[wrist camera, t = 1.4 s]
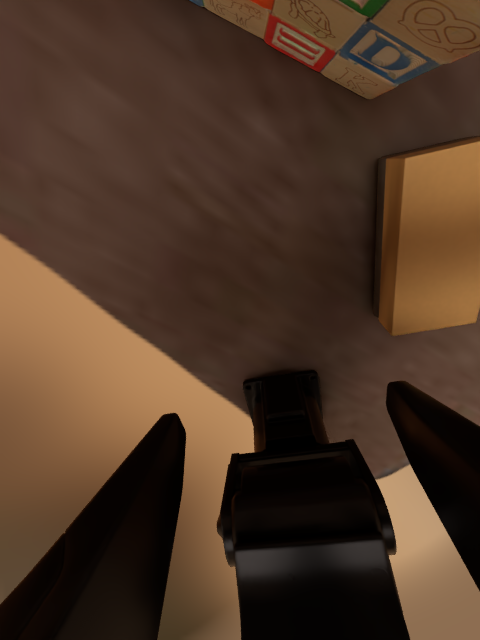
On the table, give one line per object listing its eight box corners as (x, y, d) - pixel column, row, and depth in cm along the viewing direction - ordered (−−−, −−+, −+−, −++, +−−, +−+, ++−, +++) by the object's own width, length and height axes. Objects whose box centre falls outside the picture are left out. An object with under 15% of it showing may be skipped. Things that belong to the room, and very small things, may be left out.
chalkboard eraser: (441, 298, 20) (476, 322, 17) (369, 310, 21) (391, 336, 17) (468, 136, 15) (524, 130, 12) (373, 158, 16) (405, 157, 13)
